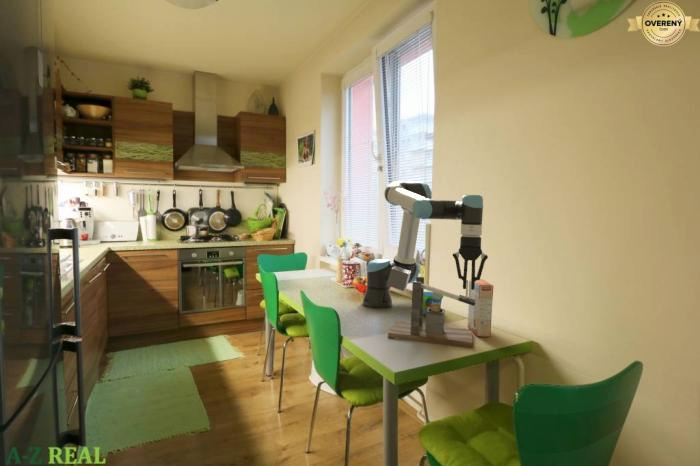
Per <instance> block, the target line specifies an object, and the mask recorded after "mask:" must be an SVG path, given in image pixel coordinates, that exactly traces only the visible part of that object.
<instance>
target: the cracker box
mask: <svg viewBox="0 0 700 466" xmlns="http://www.w3.org/2000/svg"><path fill="white" fill-rule="evenodd" d="M469 280H471V278H470V279H469ZM471 299H474V300H475V306H473V305H470V304H468V308H467V309H468V310H467V313H468V314H467V328H469V329H470V330H472V334H474V335H475V336H476V337H484V338H490V337H491V336H492V333H491V332H492V315H493V299H494V285H493V284H491V283H489V282H487V281H486V280H485V279H481V278H480V280H476V281H475V287H474V290H471Z"/></svg>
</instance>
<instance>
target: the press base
mask: <svg viewBox="0 0 700 466" xmlns="http://www.w3.org/2000/svg"><path fill="white" fill-rule="evenodd" d="M419 281H421V282H419ZM421 283H422V284H425V277H424V276H418V277H416V282H413V283H412V290H411V292H412V294H411V315H410V317H411V318H410V322H404V321H403V322H402V321H396V320H395V321H394V322H393V324H392V325H391V327H390V329H389V331H388V333H387V338H388V337H391V338H390V339H395V338H398V339H397V340H403V339H404V340H405V341H413V342H421V343H428V344H439V345H447V346H455V347H464V348H470V349H471V348H473V332H472V330H470V328H469V329H468V328H460V327H450V326H445V311H446V309H445V308H441V310H440V312H433V311H431V309H430V308H429V307H428V308H427V311H426V315H425V324H423V319H424V318H423V317H424V314H423V294H424V292H425V291H424V290H425V289H423V288H421Z"/></svg>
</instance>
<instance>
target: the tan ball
mask: <svg viewBox="0 0 700 466" xmlns="http://www.w3.org/2000/svg"><path fill="white" fill-rule="evenodd" d="M441 306H442V305H441ZM441 306H440V305H439V304H438V303H433V304H432V305H431V307H430V309H431V311H433V312H440V310H441V309H442V307H441Z"/></svg>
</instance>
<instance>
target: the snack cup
mask: <svg viewBox="0 0 700 466" xmlns="http://www.w3.org/2000/svg"><path fill="white" fill-rule="evenodd" d="M433 293H434V292H432V291H424V294H423V316H426V311H427V308H428V307H429V308H430V307H431V305H432V304H433V303H438V304H439V305H440V306H442V302H443V301H442V300H443V298H444V296H443V295H441V298H440V300H438V299H436V298H433V297H432V296H433Z"/></svg>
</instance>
